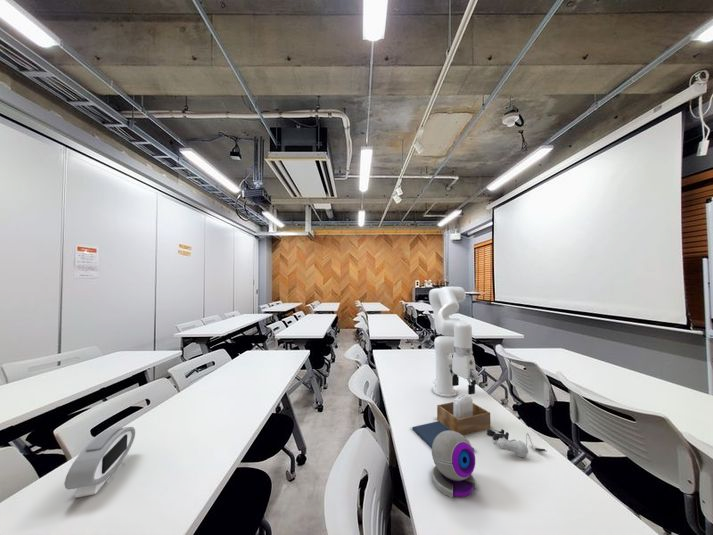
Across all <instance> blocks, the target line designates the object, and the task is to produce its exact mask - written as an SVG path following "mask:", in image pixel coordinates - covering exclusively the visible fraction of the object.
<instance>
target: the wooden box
mask: <svg viewBox="0 0 713 535" xmlns="http://www.w3.org/2000/svg"><path fill="white" fill-rule="evenodd" d="M453 402H454V401H450V402H445V403H442V404H441V403H440V404H437V405H436V420H437V421H440V422H441V423H442V424H443V425H445V426H446V427H447V428H448V429H450V430H451V431H455V432H458V433H460V434H461V435H463V436H465V435H468V434H474V433H478V432H481V431H485V430H487V429H491V411H488V410H486V409H484V408H482V407H481V406H479V405H477V404H475V403H474V402H473V416H470V417H465V418H461V419H458V418H457V417H455V416H454V415H453Z"/></svg>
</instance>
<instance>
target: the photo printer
mask: <svg viewBox="0 0 713 535" xmlns="http://www.w3.org/2000/svg"><path fill="white" fill-rule="evenodd" d="M452 402H453V415H454V416H455V417H457V418H458V419H461V418H465V417H470V416H473V403H474V401H473V398H472V396H471V395H470V394H464V393H463V394H460V395H458V396H457V397H455V398H454V399H453V401H452Z"/></svg>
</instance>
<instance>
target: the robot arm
mask: <svg viewBox="0 0 713 535" xmlns="http://www.w3.org/2000/svg"><path fill="white" fill-rule="evenodd" d="M466 294H467V293H466V290H465V289H464V288H463V287H461V286H442V287H438V288H437V287H436V288H432V289H430V290H429V292H428V300H429V304H430V306H431V310H432V312H433V320H434V328H435V331H436V333H437V334H439V335H440V336H436V337H435V338H434V341H433V345H434V351H435V378H434V380H433V381H432V384H433V385H434V386H433V387H432V392H433V393H434V394H435V395H437V396H440V397H444V398H452V397H455V396H456V395H457V390H456V389H454V387H457V386H459V385H460V384H459V381H460V378H463V379H464V380H467V382H468V385H467V395H469V396H471V395H475V394H476V385H477V384H478V383H479V381H480V376H479V374H477V369H476V361H475V357H474V355H473V354H474V351H473V327H472V325H471V323H469V322H468V321H467V320H464V319H463V320H461V319H460V318H457V317H450V316H453V315H454V314H456V313H458V311H459V310H460V304H459V303H463V302H465V301H466V298H467V295H466ZM450 355H452V357H451V356H450ZM459 377H460V378H459Z"/></svg>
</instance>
